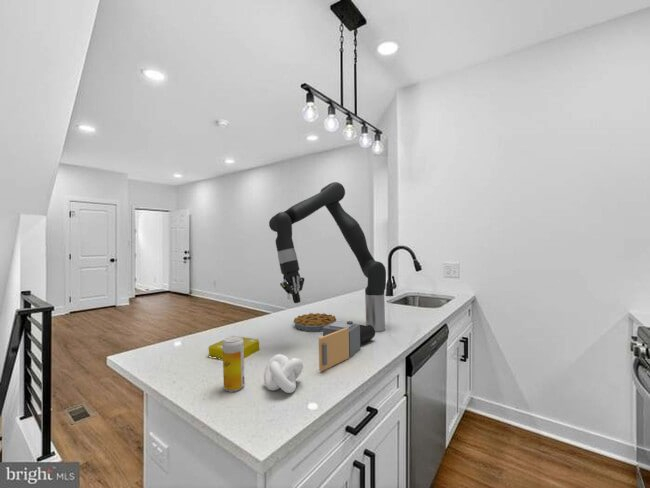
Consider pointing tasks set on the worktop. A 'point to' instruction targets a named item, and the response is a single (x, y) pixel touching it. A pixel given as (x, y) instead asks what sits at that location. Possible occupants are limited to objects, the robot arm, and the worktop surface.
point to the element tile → (248, 343)
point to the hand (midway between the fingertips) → (297, 302)
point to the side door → (333, 348)
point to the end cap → (366, 333)
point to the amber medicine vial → (233, 363)
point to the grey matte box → (353, 334)
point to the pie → (313, 321)
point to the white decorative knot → (282, 373)
